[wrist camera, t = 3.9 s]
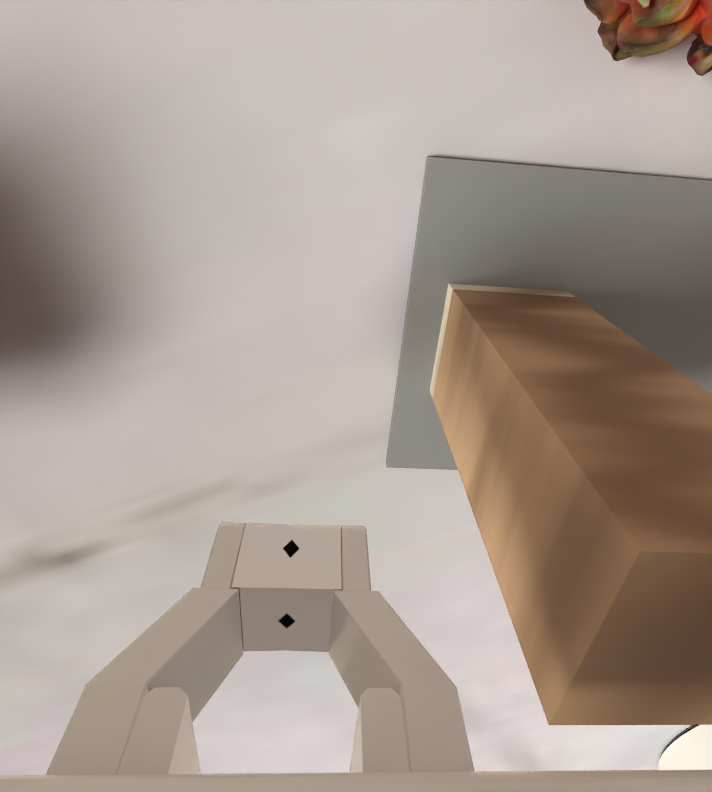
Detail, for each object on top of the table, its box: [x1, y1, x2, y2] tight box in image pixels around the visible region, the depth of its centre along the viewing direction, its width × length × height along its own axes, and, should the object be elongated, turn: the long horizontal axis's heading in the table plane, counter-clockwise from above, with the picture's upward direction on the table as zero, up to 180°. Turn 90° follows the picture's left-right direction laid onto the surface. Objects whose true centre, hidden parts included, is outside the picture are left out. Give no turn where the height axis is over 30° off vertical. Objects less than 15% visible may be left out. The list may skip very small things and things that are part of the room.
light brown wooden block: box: [430, 283, 712, 725], centre depth 15 cm, size 5×5×14 cm
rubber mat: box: [386, 156, 712, 470], centre depth 22 cm, size 24×14×1 cm, turn 86°
